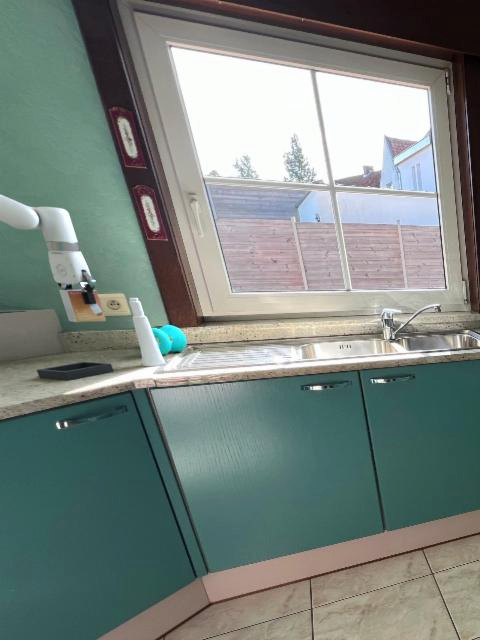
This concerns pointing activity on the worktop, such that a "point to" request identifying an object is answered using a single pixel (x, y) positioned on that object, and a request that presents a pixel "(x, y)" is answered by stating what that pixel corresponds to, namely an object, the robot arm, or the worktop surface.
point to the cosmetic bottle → (145, 336)
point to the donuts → (165, 341)
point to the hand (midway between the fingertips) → (82, 303)
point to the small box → (81, 307)
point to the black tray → (75, 371)
